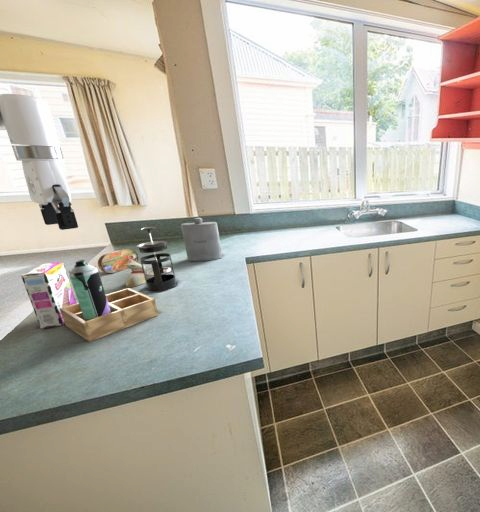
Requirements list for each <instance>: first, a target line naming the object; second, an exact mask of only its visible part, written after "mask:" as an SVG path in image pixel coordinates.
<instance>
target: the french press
mask: <svg viewBox="0 0 480 512" xmlns="http://www.w3.org/2000/svg"><path fill="white" fill-rule="evenodd" d="M156 228H157V227H156V226H146V227H143V228H141V229H140V230H141V231H147V233H148V235H149V239H150V241H146V242H142V243H138V244H137V245H136V248H138V250H139V253H141V254H148V255H144V256H141V257H140V258H139V260H140V264H141V265H142V269H143V273H144V276H145V280H146V282H145V284H146V290H147V291H148V292H151V293H156V292H157V293H158V292H163V291H167V290H171V289H173V288H175V287H177V286H178V281H177V279H176V274H175V269H174V266H173V261H172V257H171V253H167V252H163V251H166V250H167V249H168V246H167V245H168V241H165V240H154V241H153V237H152V230H155V229H156ZM158 252H159V253H158ZM160 252H161V253H160ZM161 257H162V258H161ZM149 259H150V260H149ZM151 259H152V260H151ZM168 261H170V265H171V267H170V266H163V263H164V262H168ZM143 265H151V269H148V270H146V271H145V270H144V267H143ZM147 277H148V278H147Z"/></svg>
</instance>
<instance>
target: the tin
mask: <svg viewBox="0 0 480 512" xmlns="http://www.w3.org/2000/svg"><path fill="white" fill-rule="evenodd" d="M129 260H133V261H135V262H137V263H139V262H138V261H139V255H138V253H137V251H136V250H134V249H132V248H122V249H119V250H114V251H112V252H108V253H105V254H102V255H101V256H100V257H99V258H98V259H97V267H98V268H99V270H100V271H101V272H103V273H106V274H107V273H108V274H115V273H119V272H121V271H125V270H127V269H129V268H128V267H127V264H128V263H129Z"/></svg>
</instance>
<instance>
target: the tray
mask: <svg viewBox="0 0 480 512" xmlns="http://www.w3.org/2000/svg"><path fill="white" fill-rule="evenodd" d="M106 297H107V301H108V304H109V307H110V310H111V313H109V314H106V315H103V316H100V317H97V318H94V319H91V320H88V321H85V319H84V316H83V313H82V311H81V308H80V305H79V302H76V304H73V305H70V306H66V307H64V308H60V311H61V314H62V317H63V319H64V322H65V323H64V324H65V326H66V327H67V328H68V329H70V330H72V331H73V332H75V334H77V335H79V336H80V337H82V338H83V339H84V340H86V341H87V342H89V343H90V342H94V341H96V340H99V339H101V338H103V337H107V336H109V335H112V334H114V333H116V332H119V331H122V330H124V329H126V328H129V327H132V326H135V325H137V324H139V323H143V322H145V321H147V320H150V319H152V318H156V317H158V316H159V310H158V307H157V304H156V300H155V299H156V298H153V297H152V296H148V295H146V294H144V293H142V292H140V291H137V290H135V289H132V288H131V287H130V288H127V287H126V288H123V289H120V290H117V291H113V292H110V293H107V294H106Z"/></svg>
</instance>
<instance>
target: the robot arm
mask: <svg viewBox="0 0 480 512" xmlns="http://www.w3.org/2000/svg"><path fill="white" fill-rule="evenodd" d="M51 113H52V112H51V109H50V107H49V105H48V103H47V102H46V100H43V98H40V97H37V96H32V95H27V94H19V93H18V94H17V93H0V131H6V133H7V136H8V140H9V142H10V145H11V148H12V151H13V155H14V157H15V159H16V161H19V162H21V165H22V171H23V176H24V179H25V182H26V186H27V190H28V193H29V197H30V200H31V201H32V202H34V203H36V204H38V206H39V208H40V209H39V210H40V213H41V216H42V219H43V221H44V224H45V225H46V226H50V225H57V226H58V229H59V230H60V231H61V230H62V231H65V230H73V229H78V228H79V224H78V221H77V218H76V213H75V211H74V208H73V206H72V196H71V191H70V187H69V184H68V182H67V178H66V176H65V173H64V169H63V167H62V165H61V162H65V158H64V155H63V151H62V148H61V145H60V142H59V138H58V134H57V130H56V127H55V124H54V121H53V117H52V114H51Z"/></svg>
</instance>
